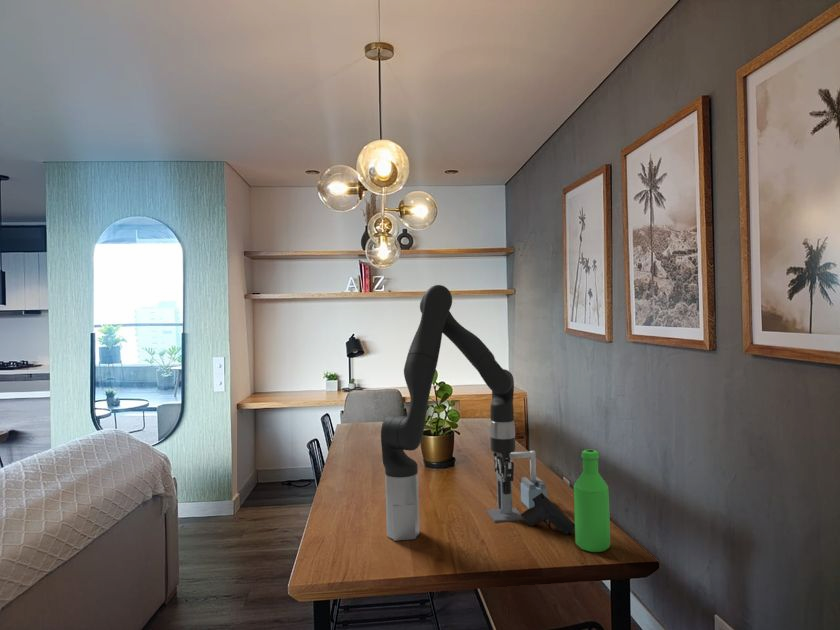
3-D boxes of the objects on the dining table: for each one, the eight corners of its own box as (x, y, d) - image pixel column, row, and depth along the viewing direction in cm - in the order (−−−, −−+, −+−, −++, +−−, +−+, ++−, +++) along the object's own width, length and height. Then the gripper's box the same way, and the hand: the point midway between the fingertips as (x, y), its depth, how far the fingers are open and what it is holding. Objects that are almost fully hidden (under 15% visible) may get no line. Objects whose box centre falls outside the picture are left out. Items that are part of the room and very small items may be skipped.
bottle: (587, 555, 137) (584, 456, 138) (568, 542, 146) (566, 448, 146) (617, 550, 140) (614, 453, 140) (597, 538, 148) (595, 445, 148)
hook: (512, 513, 164) (511, 476, 164) (502, 513, 164) (501, 476, 164) (507, 506, 169) (506, 471, 169) (497, 507, 169) (496, 472, 169)
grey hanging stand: (547, 507, 172) (545, 447, 173) (507, 510, 171) (506, 449, 171) (538, 499, 180) (537, 441, 180) (500, 502, 179) (499, 443, 179)
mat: (523, 519, 163) (523, 517, 163) (494, 522, 161) (494, 520, 161) (514, 509, 172) (514, 507, 172) (486, 511, 170) (486, 509, 170)
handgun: (524, 513, 162) (541, 489, 158) (559, 548, 155) (578, 524, 151) (519, 516, 160) (537, 491, 156) (555, 552, 153) (574, 528, 149)
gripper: (522, 439, 160) (523, 497, 160) (507, 430, 174) (509, 483, 174) (497, 441, 159) (498, 499, 159) (484, 431, 173) (486, 484, 173)
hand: (504, 490), depth 167 cm, fingers closed on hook, 5 cm apart
